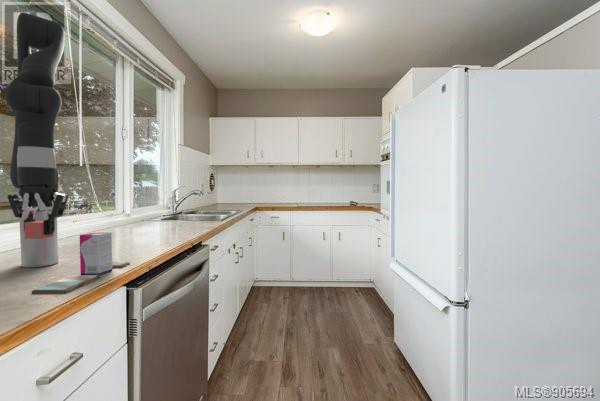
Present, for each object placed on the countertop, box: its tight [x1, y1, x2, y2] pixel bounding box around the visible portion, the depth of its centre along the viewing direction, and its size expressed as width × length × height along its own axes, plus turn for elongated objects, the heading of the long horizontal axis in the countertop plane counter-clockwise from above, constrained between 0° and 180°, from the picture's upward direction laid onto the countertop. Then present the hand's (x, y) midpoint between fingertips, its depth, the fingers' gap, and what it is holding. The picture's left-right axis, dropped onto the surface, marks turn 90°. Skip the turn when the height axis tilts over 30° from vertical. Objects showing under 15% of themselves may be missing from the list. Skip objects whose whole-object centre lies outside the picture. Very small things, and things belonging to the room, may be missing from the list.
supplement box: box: [79, 231, 113, 276], centre depth 91 cm, size 6×6×12 cm
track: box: [31, 261, 131, 294], centre depth 88 cm, size 28×8×1 cm, turn 0°
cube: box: [25, 221, 54, 239], centre depth 80 cm, size 4×4×4 cm
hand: (39, 234), depth 81 cm, fingers closed on cube, 4 cm apart
